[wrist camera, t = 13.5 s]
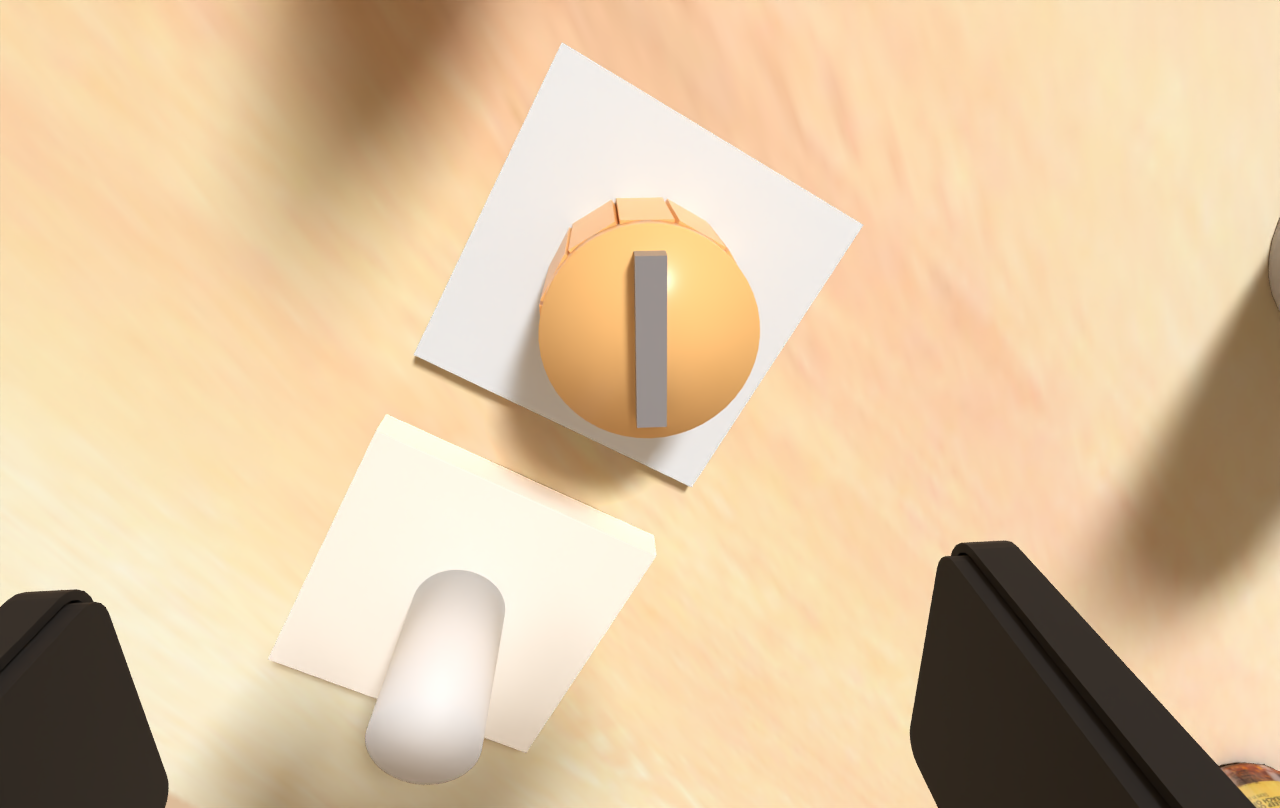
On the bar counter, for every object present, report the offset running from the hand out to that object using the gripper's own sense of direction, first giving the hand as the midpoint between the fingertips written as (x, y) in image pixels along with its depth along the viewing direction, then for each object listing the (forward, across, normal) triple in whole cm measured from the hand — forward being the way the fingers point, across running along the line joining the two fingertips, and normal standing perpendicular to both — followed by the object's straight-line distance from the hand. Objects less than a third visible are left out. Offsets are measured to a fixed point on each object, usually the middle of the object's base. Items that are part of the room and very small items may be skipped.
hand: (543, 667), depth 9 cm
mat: (+21, -2, +1) cm, 21 cm away
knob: (+20, -3, +1) cm, 20 cm away
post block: (+21, +5, +14) cm, 26 cm away
